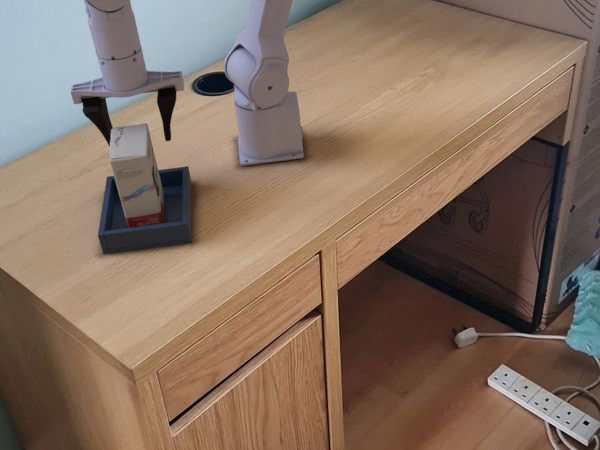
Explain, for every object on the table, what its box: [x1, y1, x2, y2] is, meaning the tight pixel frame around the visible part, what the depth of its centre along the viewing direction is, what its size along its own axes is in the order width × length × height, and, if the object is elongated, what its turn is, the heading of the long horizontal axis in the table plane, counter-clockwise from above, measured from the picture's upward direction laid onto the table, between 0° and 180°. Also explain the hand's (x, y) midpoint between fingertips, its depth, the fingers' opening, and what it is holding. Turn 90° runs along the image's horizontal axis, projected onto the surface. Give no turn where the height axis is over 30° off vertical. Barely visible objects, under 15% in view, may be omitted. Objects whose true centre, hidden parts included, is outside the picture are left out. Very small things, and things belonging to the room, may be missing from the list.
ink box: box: [108, 123, 165, 228], centre depth 104 cm, size 9×5×12 cm, turn 8°
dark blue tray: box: [97, 166, 193, 255], centre depth 107 cm, size 12×14×3 cm
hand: (140, 140), depth 109 cm, fingers open, 7 cm apart
